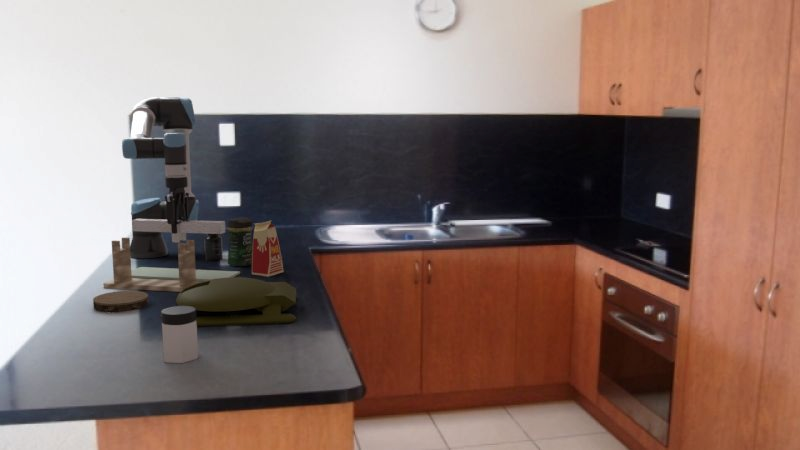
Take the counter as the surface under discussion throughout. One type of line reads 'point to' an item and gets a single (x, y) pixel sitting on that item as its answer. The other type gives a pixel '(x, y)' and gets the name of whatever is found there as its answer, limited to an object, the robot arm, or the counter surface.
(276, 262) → the milk carton
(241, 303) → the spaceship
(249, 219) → the coffee jar
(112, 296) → the wooden log slice
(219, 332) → the counter surface
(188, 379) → the counter surface
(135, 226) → the steel rail
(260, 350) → the counter surface
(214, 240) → the supplement bottle
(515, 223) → the counter surface
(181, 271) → the rail rack
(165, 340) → the jar
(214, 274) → the sage mat
